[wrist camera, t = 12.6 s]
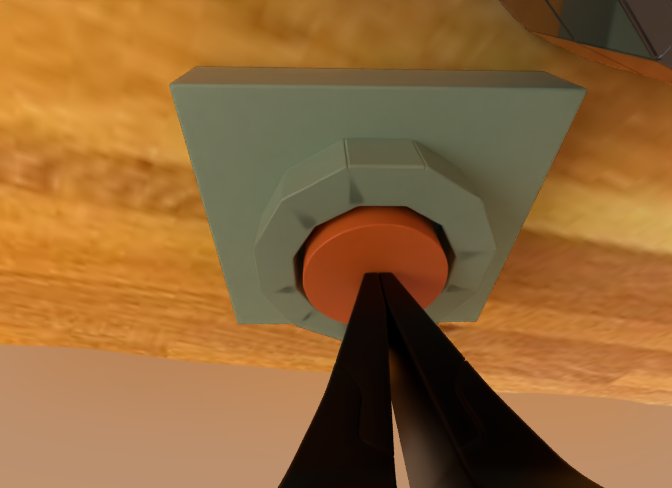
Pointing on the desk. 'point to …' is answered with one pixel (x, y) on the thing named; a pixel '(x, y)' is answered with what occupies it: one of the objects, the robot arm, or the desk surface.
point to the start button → (372, 257)
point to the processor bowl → (605, 31)
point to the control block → (366, 169)
